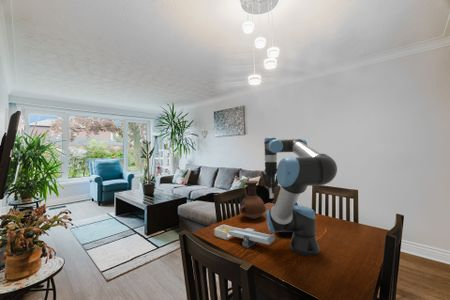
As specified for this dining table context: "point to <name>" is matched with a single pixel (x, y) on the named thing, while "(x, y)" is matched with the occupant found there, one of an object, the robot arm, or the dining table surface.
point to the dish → (222, 234)
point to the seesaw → (253, 235)
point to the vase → (252, 202)
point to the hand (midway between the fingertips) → (271, 197)
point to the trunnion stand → (248, 242)
